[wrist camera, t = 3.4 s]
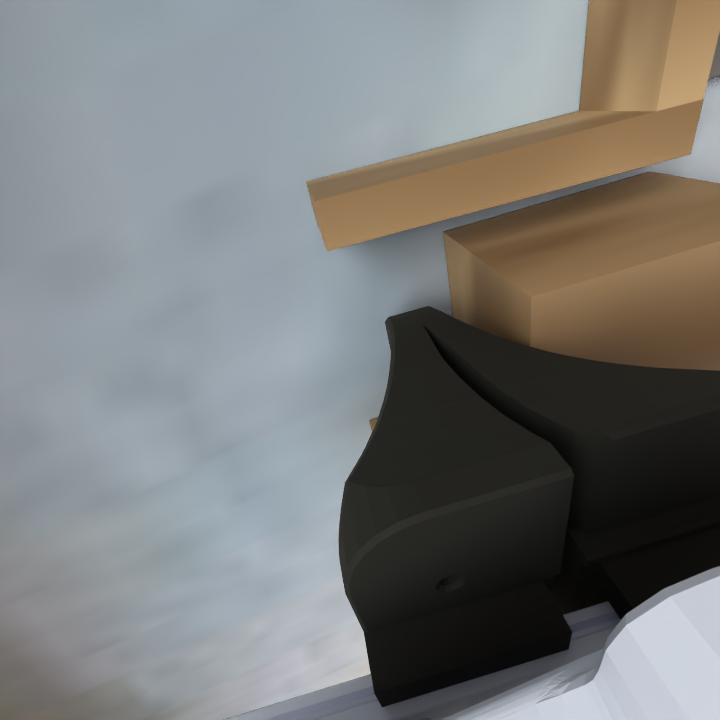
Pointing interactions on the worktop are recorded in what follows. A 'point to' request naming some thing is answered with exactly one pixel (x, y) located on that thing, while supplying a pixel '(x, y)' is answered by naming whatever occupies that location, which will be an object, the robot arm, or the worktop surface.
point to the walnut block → (599, 273)
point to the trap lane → (549, 129)
